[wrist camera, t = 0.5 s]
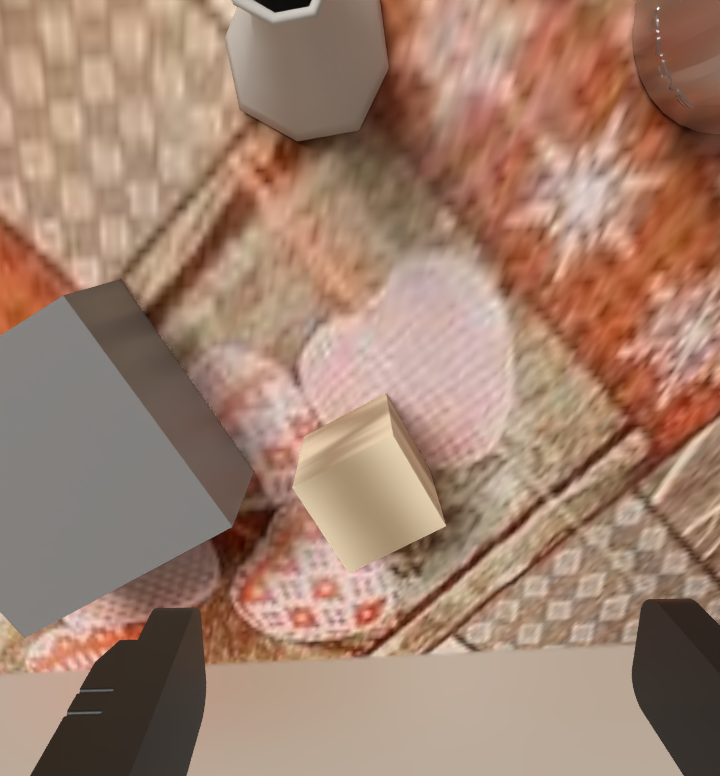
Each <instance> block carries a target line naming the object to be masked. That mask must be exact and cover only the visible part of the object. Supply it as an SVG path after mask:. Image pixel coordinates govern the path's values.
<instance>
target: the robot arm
mask: <svg viewBox="0 0 720 776" xmlns="http://www.w3.org/2000/svg"><path fill="white" fill-rule="evenodd" d="M633 47H634V57H635V61H636V65H637V69H638V73H639V77H640V79H641V81H642V83H643V85H644V87H645V89H646V91H647V93H648V95H649V97H650V98H651V99H652V100H653V101H654V103H655V104H656V105H657V106H658V107H659V109H660V110H661V111H662V112H663V113H664V114H665V115H667V116H668V117H670V118H671V119H672V120H674V121H675V122H677V123H678V124H679V125H682V126H684V127H687V128H690V129H692V130H695V131H697V132H703V133H711V134H720V0H637V3H636V9H635V16H634V24H633ZM632 683H633V688H634V692H635V696H636V699H637V701H638V704H639V706H640V708H641V710H642V711H643V713H644V714H645V716H646V718H647V719H648V721H649V722H650V724H651V725H652V727H653V729H654V730H655V731H656V733H657V734H658V736H659V738H660V739H661V741H662V742H663V744H664V746H665V747H666V749H667V750H668V752H669V753H670V755H671V756H672V758H673V760H674V761H675V763H676V764H677V766H678V767H679V769H680V770H681V772H682V774H683V775H684V776H720V625H719V624H718V623H717V622H716V621H715V620H714V619H713V618H712V617H711V616H710V615H709V614H708V613H707V612H706V611H705V610H704V609H703V608H702V607H701V606H700V605H699V604H698V603H697V602H696V601H694V600H692V599H648V600H646V601H645V602H644V603H643V605H642V608H641V612H640V619H639V626H638V632H637V639H636V646H635V653H634V660H633V666H632ZM205 697H206V673H205V661H204V648H203V636H202V623H201V614H200V611H199V609H198V608H157V609H154V610H153V611H152V613H151V614H150V616H149V618H148V621H147V623H146V625H145V627H144V629H143V631H142V633H141V635H140V637H139V639H138V640H120V641H118V642H117V643H116V644H115V645H114V646H113V647H112V648H111V649H110V650H108V651H107V652H106V653H105V654H104V655H103V656H102V657H101V658H99V659H98V660H97V661H96V662H95V663H94V665H93V667H92V669H91V670H90V672H89V674H88V676H87V677H86V679H85V681H84V683H83V685H82V686H81V688H80V693H79V694H77V695H76V697H75V699H74V700H73V702H72V704H71V705H70V707H69V709H68V711H67V716H65V717H64V718H63V719H62V721H61V723H60V725H59V726H58V728H57V730H56V732H55V734H54V735H53V737H52V739H51V740H50V742H49V744H48V746H47V747H46V749H45V751H44V753H43V754H42V756H41V758H40V760H39V761H38V763H37V765H36V767H35V768H34V770H33V772H32V774H31V775H30V776H186V775H187V772H188V768H189V764H190V761H191V757H192V754H193V750H194V747H195V743H196V740H197V736H198V733H199V729H200V726H201V722H202V718H203V712H204V706H205Z"/></svg>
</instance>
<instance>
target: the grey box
mask: <svg viewBox="0 0 720 776" xmlns="http://www.w3.org/2000/svg"><path fill="white" fill-rule="evenodd" d="M253 473H254V470H253V469H252V467H251V466H250V465H249V463H248V462H247V460H246V459H245V457H244V456H243V455H242V453H241V452H240V450H239V449H238V447H237V446H236V444H235V443H234V442H233V440H232V439H231V437H230V436H229V434H228V433H227V432H226V430H225V429H224V427H223V426H222V424H221V423H220V422H219V420H218V419H217V417H216V416H215V414H214V413H213V411H212V410H211V409H210V407H209V406H208V404H207V403H206V401H205V400H204V399H203V397H202V396H201V394H200V393H199V391H198V390H197V389H196V387H195V386H194V384H193V383H192V381H191V380H190V378H189V377H188V376H187V374H186V373H185V371H184V370H183V368H182V367H181V366H180V364H179V363H178V361H177V360H176V358H175V357H174V356H173V354H172V353H171V351H170V350H169V348H168V347H167V345H166V344H165V343H164V341H163V340H162V338H161V337H160V335H159V334H158V333H157V331H156V330H155V328H154V327H153V325H152V324H151V323H150V321H149V320H148V318H147V317H146V315H145V314H144V312H143V311H142V310H141V308H140V307H139V305H138V304H137V302H136V301H135V300H134V298H133V297H132V295H131V294H130V292H129V291H128V290H127V288H126V287H125V285H124V284H123V282H122V281H121V279H120V280H116V281H113V282H109V283H106V284H102V285H99V286H95V287H92V288H88V289H85V290H81V291H78V292H74V293H71V294H67V295H64V296H62V297H60V298H59V299H57V300H56V301H54V302H53V303H51V304H49V305H48V306H46V307H45V308H43V309H42V310H40V311H38V312H37V313H35V314H34V315H32V316H31V317H29V318H27V319H26V320H24V321H23V322H21V323H20V324H18V325H16V326H15V327H13V328H12V329H10V330H9V331H7V332H5V333H4V334H2V335H1V336H0V612H1V613H2V614H3V615H4V616H5V617H6V619H7V620H8V621H9V622H10V623H11V624H12V625H13V626H14V627H15V628H16V629H17V631H18V632H19V633H20V634H21V635H22V636H23V637H24V638H26V637H27V636H29V635H31V634H33V633H35V632H37V631H39V630H40V629H42V628H44V627H46V626H48V625H50V624H52V623H54V622H55V621H57V620H59V619H61V618H63V617H65V616H67V615H69V614H70V613H72V612H74V611H76V610H78V609H80V608H82V607H84V606H85V605H87V604H89V603H91V602H93V601H95V600H97V599H98V598H100V597H102V596H104V595H106V594H108V593H110V592H112V591H113V590H115V589H117V588H119V587H121V586H123V585H125V584H127V583H128V582H130V581H132V580H134V579H136V578H138V577H140V576H141V575H143V574H145V573H147V572H149V571H151V570H153V569H155V568H156V567H158V566H160V565H162V564H164V563H166V562H168V561H170V560H171V559H173V558H175V557H177V556H179V555H181V554H183V553H185V552H186V551H188V550H190V549H192V548H194V547H196V546H198V545H199V544H201V543H203V542H205V541H207V540H209V539H211V538H213V537H214V536H216V535H218V534H220V533H222V532H224V531H226V530H228V529H229V528H231V527H233V524H234V522H235V519H236V517H237V514H238V512H239V509H240V507H241V504H242V501H243V499H244V496H245V494H246V491H247V489H248V486H249V484H250V481H251V479H252V476H253Z"/></svg>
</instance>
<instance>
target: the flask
mask: <svg viewBox="0 0 720 776" xmlns="http://www.w3.org/2000/svg"><path fill="white" fill-rule="evenodd" d="M232 2H233V4H234V5H235V6H237V9H236V12H235V14H234V17H233V19H232V22H231V24H230V27H229V29H228V32H227V34H226V37H225V41H226V45H227V50H228V55H229V60H230V65H231V70H232V75H233V79H234V84H235V89H236V94H237V99H238V104H239V108H240V110H241V111H243V112H245V113H247V114H249V115H250V116H252V117H254V118H256V119H258V120H259V121H261V122H263V123H265V124H267V125H268V126H270V127H272V128H274V129H276V130H277V131H279V132H281V133H283V134H285V135H286V136H288V137H290V138H292V139H294V140H295V141H303V140H308V139H314V138H320V137H325V136H331V135H336V134H342V133H348V132H353V131H359V130H360V127H361V125H362V123H363V121H364V119H365V117H366V115H367V113H368V111H369V109H370V107H371V104H372V102H373V100H374V98H375V96H376V94H377V92H378V90H379V88H380V86H381V84H382V81H383V79H384V77H385V75H386V73H387V71H388V69H389V64H388V57H387V49H386V42H385V34H384V27H383V19H382V12H381V4H380V0H232Z"/></svg>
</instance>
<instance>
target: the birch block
mask: <svg viewBox="0 0 720 776" xmlns="http://www.w3.org/2000/svg"><path fill="white" fill-rule="evenodd" d="M293 490H294V491H295V493H296V494H297V496H298V497H299V499H300V500H301V502H302V503H303V505H304V506H305V508H306V509H307V511H308V512H309V514H310V515H311V517H312V518H313V520H314V521H315V523H316V524H317V526H318V527H319V529H320V530H321V532H322V534H323V535H324V537H325V538H326V540H327V541H328V543H329V544H330V546H331V547H332V549H333V550H334V552H335V553H336V555H337V556H338V558H339V559H340V561H341V562H342V564H343V565H344V567H345V568H346V570H347V571H348V573H351V572H353V571H355V570H357V569H359V568H361V567H364V566H366V565H368V564H370V563H372V562H374V561H376V560H378V559H380V558H382V557H384V556H386V555H388V554H390V553H392V552H394V551H396V550H398V549H400V548H402V547H404V546H406V545H409V544H411V543H413V542H415V541H417V540H419V539H421V538H423V537H425V536H427V535H429V534H431V533H433V532H435V531H437V530H439V529H441V528H443V527H445V526H446V524H445V520H444V517H443V513H442V510H441V507H440V503H439V500H438V496H437V493H436V489H435V486H434V482H433V479H432V476H431V472H430V469H429V467H428V465H427V464H426V462H425V460H424V458H423V457H422V455H421V453H420V451H419V450H418V448H417V446H416V444H415V443H414V441H413V439H412V438H411V436H410V434H409V432H408V431H407V429H406V427H405V425H404V424H403V422H402V420H401V418H400V417H399V415H398V413H397V411H396V410H395V408H394V406H393V404H392V403H391V401H390V399H389V398H388V396H387V394H386V393H385V394H383V395H381V396H379V397H378V398H376V399H374V400H372V401H370V402H368V403H366V404H364V405H363V406H361V407H359V408H357V409H355V410H353V411H351V412H349V413H348V414H346V415H344V416H342V417H340V418H338V419H336V420H334V421H333V422H331V423H329V424H327V425H325V426H323V427H321V428H319V429H318V430H316V431H314V432H312V433H310V434H308V435H306V436H304V439H303V444H302V448H301V452H300V457H299V461H298V466H297V470H296V474H295V479H294V483H293Z"/></svg>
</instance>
